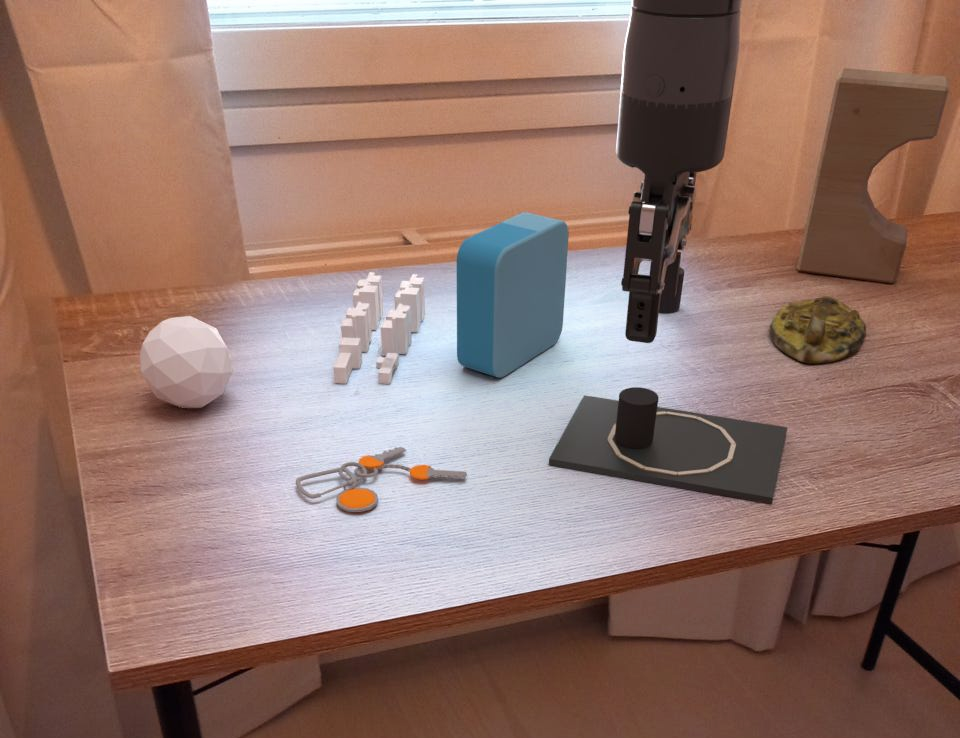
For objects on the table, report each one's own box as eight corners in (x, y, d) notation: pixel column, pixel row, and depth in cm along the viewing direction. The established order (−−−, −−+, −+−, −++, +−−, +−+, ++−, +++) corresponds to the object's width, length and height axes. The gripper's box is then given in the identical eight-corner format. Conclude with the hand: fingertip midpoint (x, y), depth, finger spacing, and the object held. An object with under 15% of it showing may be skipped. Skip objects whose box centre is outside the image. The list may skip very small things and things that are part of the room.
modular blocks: (361, 308, 108) (359, 271, 105) (426, 311, 107) (425, 273, 105) (325, 394, 93) (321, 353, 90) (400, 397, 92) (398, 356, 90)
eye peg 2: (681, 303, 110) (687, 266, 107) (676, 315, 107) (681, 277, 105) (652, 299, 111) (656, 262, 108) (646, 310, 108) (651, 273, 106)
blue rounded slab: (525, 329, 104) (530, 207, 96) (562, 340, 102) (570, 217, 94) (455, 371, 97) (455, 242, 89) (495, 383, 95) (497, 253, 87)
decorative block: (897, 268, 119) (950, 76, 106) (895, 285, 114) (949, 87, 102) (800, 255, 121) (840, 66, 109) (794, 272, 117) (835, 77, 104)
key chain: (322, 523, 76) (321, 514, 76) (287, 478, 81) (286, 469, 81) (472, 481, 81) (472, 472, 80) (430, 441, 86) (430, 432, 85)
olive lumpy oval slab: (776, 311, 111) (761, 367, 100) (780, 268, 108) (765, 319, 97) (867, 313, 108) (862, 370, 97) (873, 269, 105) (869, 322, 94)
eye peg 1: (655, 433, 86) (661, 390, 84) (648, 451, 84) (654, 407, 82) (618, 427, 87) (623, 384, 85) (610, 445, 85) (615, 401, 82)
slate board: (786, 433, 88) (787, 426, 88) (771, 504, 79) (773, 496, 79) (583, 401, 92) (584, 393, 92) (548, 465, 83) (548, 457, 83)
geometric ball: (193, 441, 91) (140, 397, 84) (161, 379, 94) (107, 331, 87) (262, 392, 91) (214, 344, 83) (227, 331, 94) (179, 280, 86)
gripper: (717, 115, 63) (683, 363, 73) (746, 67, 73) (713, 291, 83) (598, 106, 64) (581, 349, 75) (643, 61, 75) (623, 280, 85)
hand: (651, 318), depth 79 cm, fingers open, 8 cm apart
